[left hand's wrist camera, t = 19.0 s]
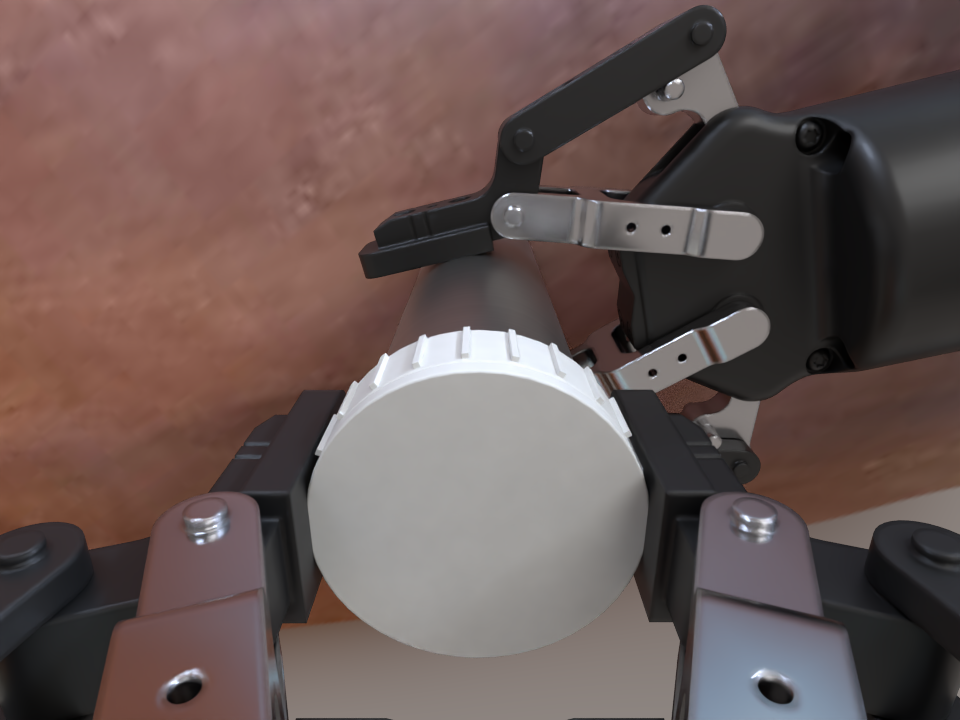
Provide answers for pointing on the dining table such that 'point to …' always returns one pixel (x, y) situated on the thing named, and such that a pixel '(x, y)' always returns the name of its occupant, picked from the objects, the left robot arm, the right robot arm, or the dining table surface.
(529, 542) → the lid
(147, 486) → the dining table surface
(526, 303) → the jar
